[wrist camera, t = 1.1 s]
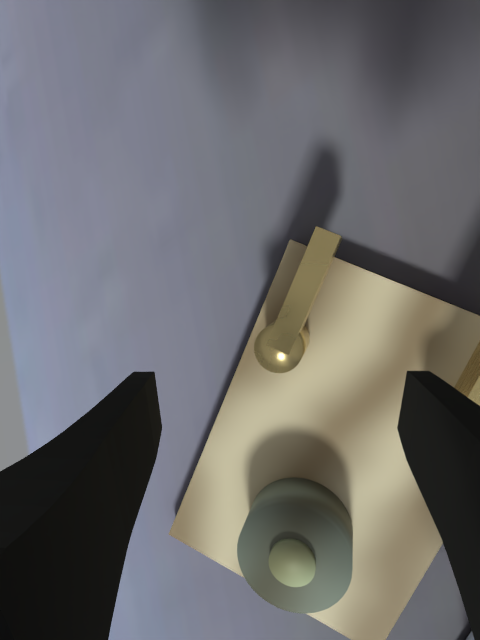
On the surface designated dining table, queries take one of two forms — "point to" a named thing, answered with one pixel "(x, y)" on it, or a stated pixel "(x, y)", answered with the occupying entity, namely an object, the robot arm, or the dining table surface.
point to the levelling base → (328, 454)
